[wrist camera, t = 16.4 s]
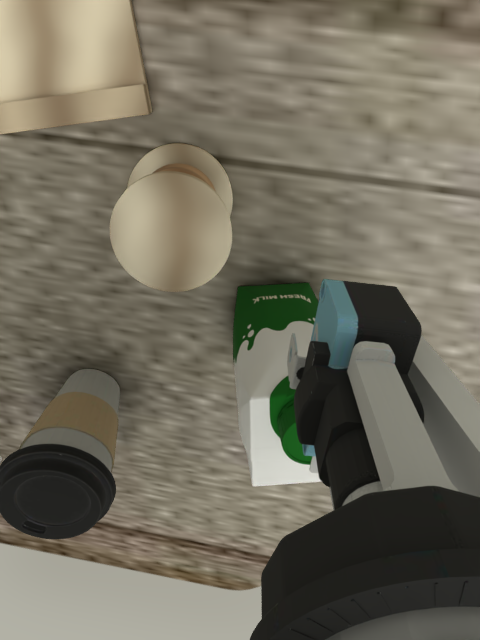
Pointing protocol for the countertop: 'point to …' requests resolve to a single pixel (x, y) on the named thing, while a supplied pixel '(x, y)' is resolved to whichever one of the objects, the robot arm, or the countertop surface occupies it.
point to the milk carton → (271, 378)
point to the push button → (371, 490)
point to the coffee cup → (65, 461)
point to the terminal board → (69, 63)
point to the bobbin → (174, 219)
